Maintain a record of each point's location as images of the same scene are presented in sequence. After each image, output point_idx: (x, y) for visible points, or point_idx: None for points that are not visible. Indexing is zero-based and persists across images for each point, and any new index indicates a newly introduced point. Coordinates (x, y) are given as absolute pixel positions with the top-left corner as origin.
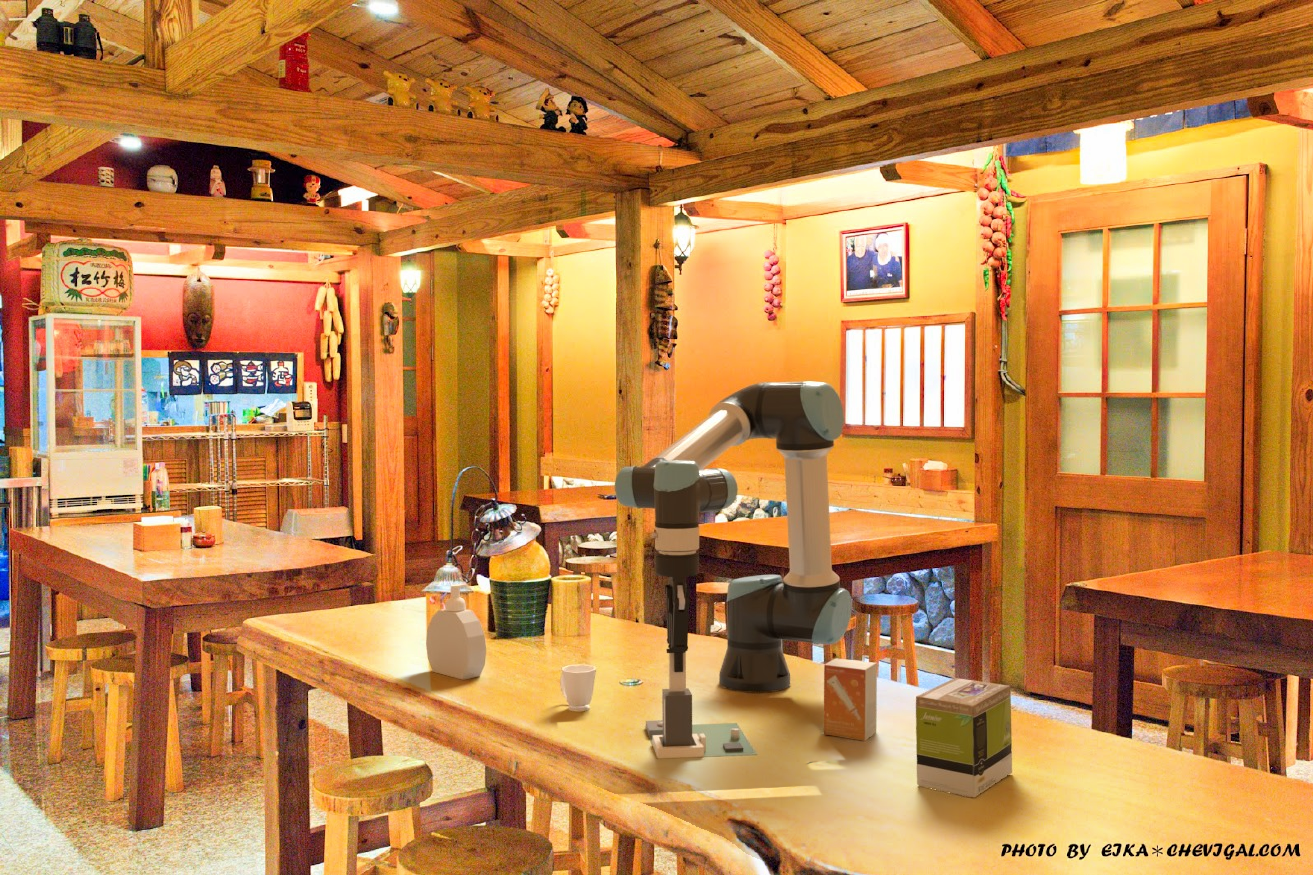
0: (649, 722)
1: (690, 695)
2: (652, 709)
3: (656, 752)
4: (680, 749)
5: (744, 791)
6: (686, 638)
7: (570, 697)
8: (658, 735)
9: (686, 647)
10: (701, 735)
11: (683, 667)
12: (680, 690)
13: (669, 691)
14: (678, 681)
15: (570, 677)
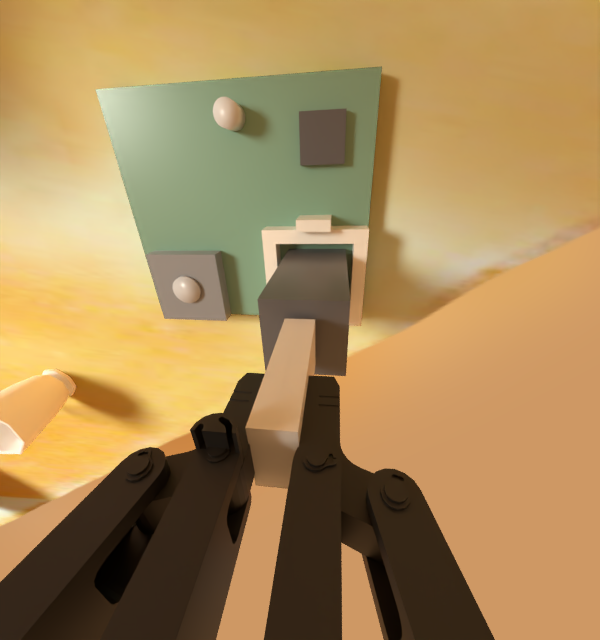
0: (174, 313)
1: (349, 305)
2: (19, 275)
3: None
4: (364, 281)
5: (589, 153)
6: (475, 616)
7: (59, 408)
8: None
9: (427, 509)
10: (311, 228)
11: (307, 380)
12: None
13: None
14: (312, 360)
15: (31, 438)
